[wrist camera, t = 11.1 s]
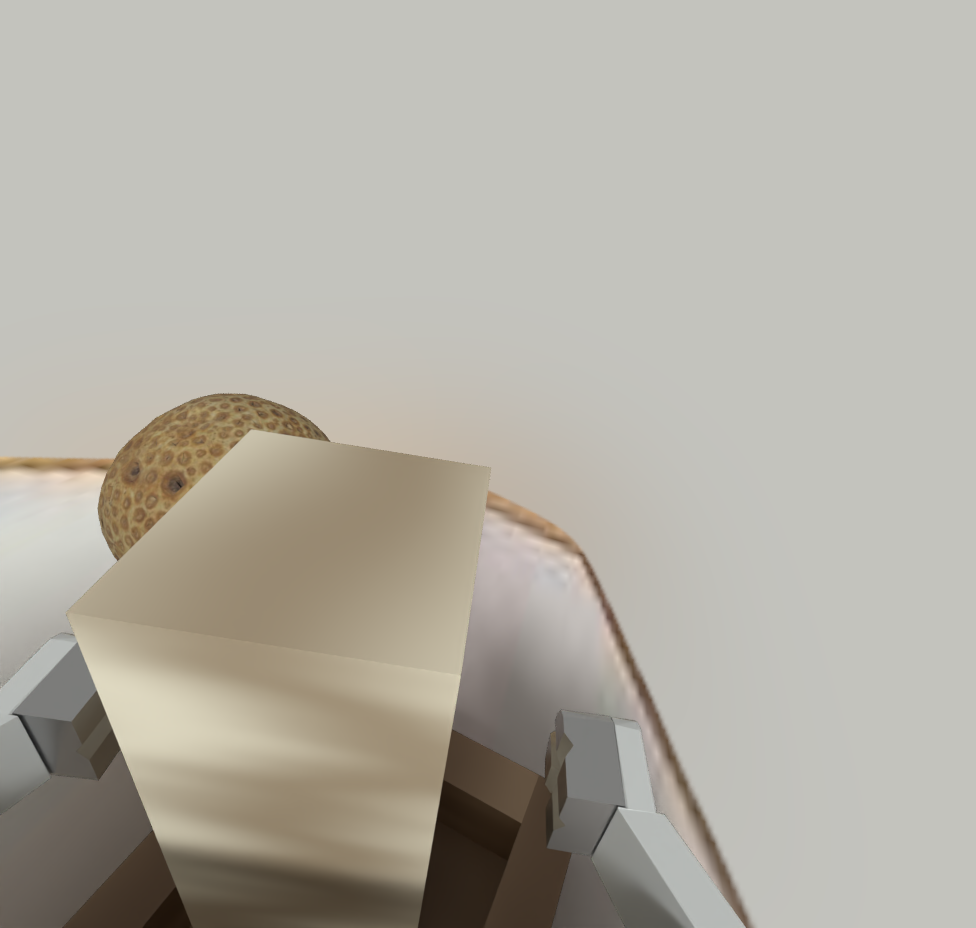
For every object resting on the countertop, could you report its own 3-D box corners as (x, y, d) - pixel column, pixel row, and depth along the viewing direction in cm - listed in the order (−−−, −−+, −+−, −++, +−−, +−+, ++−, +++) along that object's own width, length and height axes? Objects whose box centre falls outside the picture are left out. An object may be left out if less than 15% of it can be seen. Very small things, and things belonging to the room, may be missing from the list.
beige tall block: (230, 1022, 13) (65, 613, 5) (296, 835, 16) (251, 429, 9) (397, 1048, 13) (460, 675, 5) (426, 855, 16) (491, 467, 9)
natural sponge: (171, 536, 27) (128, 347, 22) (352, 530, 29) (353, 358, 24) (103, 696, 19) (12, 468, 14) (353, 672, 22) (354, 468, 16)
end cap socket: (23, 1060, 12) (-27, 1023, 10) (316, 708, 20) (313, 656, 18) (398, 1430, 9) (408, 1453, 8) (564, 846, 17) (585, 799, 16)
